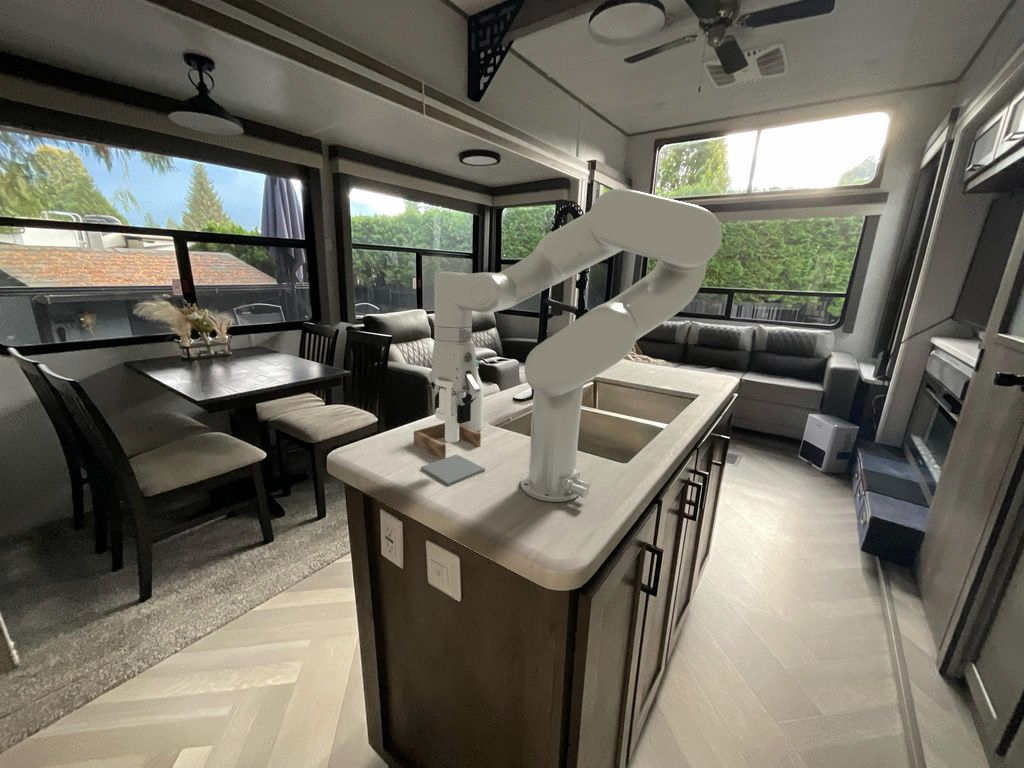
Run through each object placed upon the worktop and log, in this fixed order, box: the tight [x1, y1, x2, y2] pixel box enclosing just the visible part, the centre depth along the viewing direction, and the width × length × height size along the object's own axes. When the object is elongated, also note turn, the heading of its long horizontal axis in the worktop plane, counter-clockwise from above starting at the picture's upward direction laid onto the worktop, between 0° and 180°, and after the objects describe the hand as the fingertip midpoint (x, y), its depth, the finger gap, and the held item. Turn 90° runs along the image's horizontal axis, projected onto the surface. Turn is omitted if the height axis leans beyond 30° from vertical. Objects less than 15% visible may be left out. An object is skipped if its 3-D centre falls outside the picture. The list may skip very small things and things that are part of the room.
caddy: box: [413, 422, 482, 460], centre depth 102 cm, size 12×12×4 cm
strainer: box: [434, 377, 467, 443], centre depth 85 cm, size 7×7×15 cm
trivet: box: [420, 454, 486, 487], centre depth 89 cm, size 10×10×1 cm
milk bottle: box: [460, 359, 485, 432], centre depth 112 cm, size 8×8×20 cm
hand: (452, 416), depth 86 cm, fingers closed on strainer, 7 cm apart
